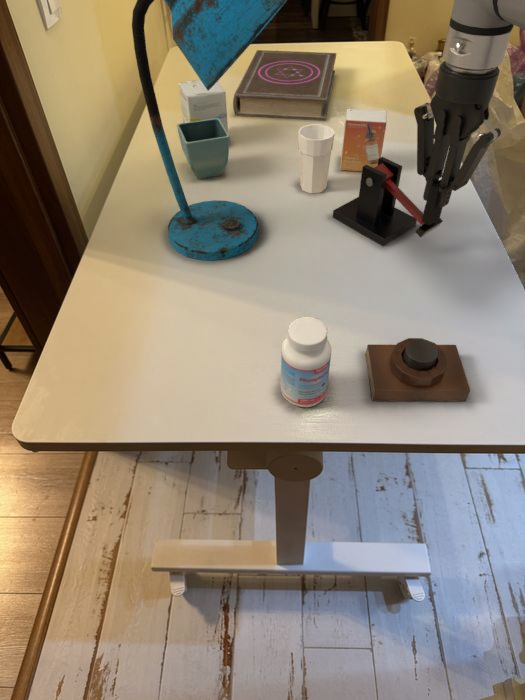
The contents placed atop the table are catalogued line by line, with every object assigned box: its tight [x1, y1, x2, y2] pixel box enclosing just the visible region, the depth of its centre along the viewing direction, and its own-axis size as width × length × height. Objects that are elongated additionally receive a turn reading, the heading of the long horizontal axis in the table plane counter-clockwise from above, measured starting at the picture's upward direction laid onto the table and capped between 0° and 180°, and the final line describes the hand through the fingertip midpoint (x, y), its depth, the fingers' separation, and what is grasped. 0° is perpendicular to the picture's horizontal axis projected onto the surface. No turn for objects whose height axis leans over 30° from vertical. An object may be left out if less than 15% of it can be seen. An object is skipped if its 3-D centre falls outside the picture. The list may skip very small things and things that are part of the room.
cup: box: [298, 123, 335, 194], centre depth 99 cm, size 7×7×11 cm
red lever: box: [374, 163, 443, 238], centre depth 86 cm, size 14×5×2 cm, turn 41°
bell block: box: [365, 337, 471, 402], centre depth 68 cm, size 12×8×4 cm, turn 89°
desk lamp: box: [131, 0, 288, 262], centre depth 76 cm, size 16×22×45 cm
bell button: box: [404, 338, 438, 371], centre depth 66 cm, size 4×4×2 cm
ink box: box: [178, 79, 229, 133], centre depth 113 cm, size 9×9×12 cm
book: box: [232, 49, 337, 121], centre depth 133 cm, size 30×22×5 cm
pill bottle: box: [280, 316, 332, 408], centre depth 64 cm, size 6×6×11 cm
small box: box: [339, 108, 388, 172], centre depth 104 cm, size 8×6×10 cm
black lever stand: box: [332, 156, 418, 247], centre depth 90 cm, size 12×9×11 cm
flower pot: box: [176, 118, 231, 180], centre depth 104 cm, size 9×9×9 cm
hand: (430, 220), depth 84 cm, fingers closed
